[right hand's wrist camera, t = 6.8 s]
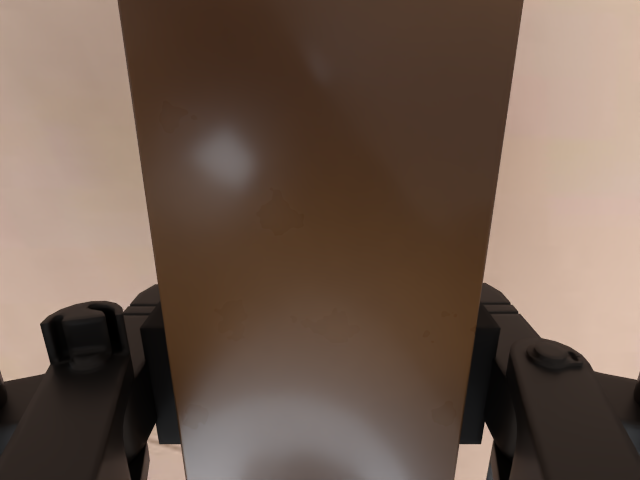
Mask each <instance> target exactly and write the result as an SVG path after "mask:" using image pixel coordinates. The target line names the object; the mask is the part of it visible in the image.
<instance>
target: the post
mask: <svg viewBox="0 0 640 480" xmlns="http://www.w3.org/2000/svg"><path fill="white" fill-rule="evenodd" d="M523 1H524V0H118V6H119V13H120V20H121V27H122V34H123V41H124V48H125V55H126V62H127V69H128V76H129V83H130V90H131V97H132V104H133V111H134V118H135V125H136V132H137V139H138V146H139V153H140V160H141V167H142V174H143V182H144V189H145V196H146V203H147V210H148V217H149V224H150V231H151V238H152V245H153V252H154V259H155V266H156V273H157V280H158V287H159V294H160V301H161V308H162V315H163V322H164V329H165V336H166V343H167V350H168V357H169V364H170V371H171V378H172V385H173V392H174V399H175V406H176V413H177V420H178V427H179V434H180V441H181V448H182V455H183V462H184V469H185V476H186V480H454V477H455V470H456V463H457V456H458V449H459V442H460V435H461V428H462V422H463V415H464V408H465V401H466V394H467V387H468V380H469V373H470V366H471V359H472V353H473V346H474V339H475V332H476V325H477V318H478V311H479V304H480V297H481V290H482V284H483V277H484V270H485V263H486V256H487V249H488V242H489V235H490V228H491V221H492V215H493V208H494V201H495V194H496V187H497V180H498V173H499V166H500V159H501V153H502V146H503V139H504V132H505V125H506V118H507V111H508V104H509V97H510V90H511V84H512V77H513V70H514V63H515V56H516V49H517V42H518V35H519V28H520V21H521V15H522V8H523Z"/></svg>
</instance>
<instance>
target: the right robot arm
mask: <svg viewBox="0 0 640 480" xmlns="http://www.w3.org/2000/svg"><path fill="white" fill-rule="evenodd" d="M40 326H41V329H42V333H43V337H44V341H45V345H46V348H47V352H48V356H49V360H50V366H49V368H48V370H47V372H46V374H42V375H37V376H32V377H27V378H21V379H16V380H11V381H6V382H4V381H3V378H2V375H1V372H0V480H147V476H148V469H149V462H150V458H149V451H148V445H147V440H148V438H149V436H150V434H151V431H152V429H153V427H154V425H155V423H156V427H157V433H158V439H159V444H181V441H180V434H179V427H178V420H177V413H176V406H175V399H174V392H173V385H172V378H171V371H170V364H169V357H168V350H167V343H166V336H165V329H164V322H163V315H162V308H161V301H160V294H159V287H158V284H155V285H153V286H152V287H150V288H148V289H146V290H145V291H143V292H141V293H140V294H139V295H138V296H137V297H136V298H135V299H134V300H133V302H132V303H131V304H130V306H128V307H127V309H126V310H125V311H124V312H123V309H122V307H121V306H119V305H118V304H117V303H113V302H108V301H90V302H85V303H80V304H75V305H72V306H69V307H66V308H63V309H61V310H59V311H57V312H55V313H53V314H51V315H50V316H48V317H47V318H46V319H45V320H44V321H43V322H42V323H41V324H40ZM485 422H486V424H487V427H488V429H489V431H490V433H491V435H492V437H493V439H494V440H493V445H492V451H491V456H490V462H489V467H488V472H487V478H486V480H640V373H639V376H638V380H634V379H629V378H624V377H619V376H614V375H608V374H603V373H599V372H595V371H593V369H592V367H591V365H590V364H589V362H588V361H587V360H586V359H585V358H584V357H583V355H581V354H580V353H578V352H577V351H575V350H574V349H572V348H571V347H568V346H566V345H563V344H561V343H559V342H556V341H552V340H547V339H543V338H541V337H540V336H539V335H538V334H537V333H536V332H535V330H534V329H533V328H532V327H531V326H530V325H529V323H528V322H527V321H526V320H525V319H524V318H523V317H522V315H521V314H518V311H517V310H516V309H515V307H514V306H513V305H511V304H510V302H509V300H508V299H507V298H506V297H505V296H504V295H503V294H502V292H500V291H498V290H497V289H495V288H493V287H491V286H490V285H488V284H486V283H483V284H482V290H481V297H480V304H479V311H478V318H477V325H476V332H475V339H474V346H473V353H472V359H471V366H470V373H469V380H468V387H467V394H466V401H465V408H464V415H463V422H462V428H461V435H460V442H459V444H481V441H482V435H483V429H484V423H485Z"/></svg>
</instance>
